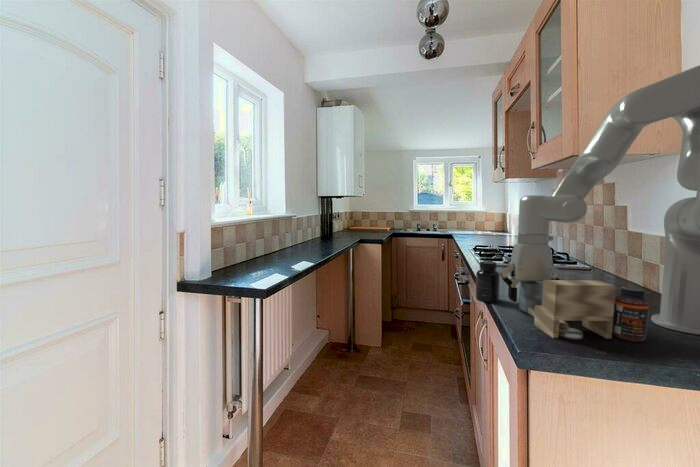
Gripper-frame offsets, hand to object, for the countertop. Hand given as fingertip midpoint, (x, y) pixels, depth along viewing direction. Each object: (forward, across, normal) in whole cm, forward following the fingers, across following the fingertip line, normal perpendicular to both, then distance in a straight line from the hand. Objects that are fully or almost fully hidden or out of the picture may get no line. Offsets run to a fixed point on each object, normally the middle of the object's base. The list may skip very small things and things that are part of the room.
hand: (529, 300), depth 95 cm
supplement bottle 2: (+3, -12, +19) cm, 23 cm away
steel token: (+3, 0, +18) cm, 18 cm away
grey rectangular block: (+3, 0, +6) cm, 7 cm away
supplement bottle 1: (+3, +8, -10) cm, 13 cm away
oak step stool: (+3, -2, +16) cm, 16 cm away
